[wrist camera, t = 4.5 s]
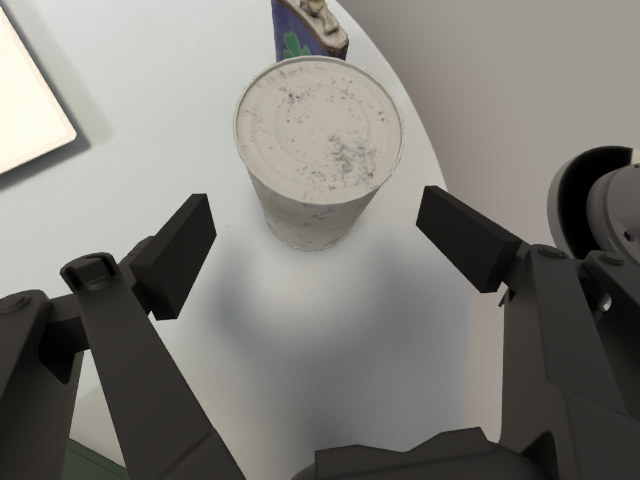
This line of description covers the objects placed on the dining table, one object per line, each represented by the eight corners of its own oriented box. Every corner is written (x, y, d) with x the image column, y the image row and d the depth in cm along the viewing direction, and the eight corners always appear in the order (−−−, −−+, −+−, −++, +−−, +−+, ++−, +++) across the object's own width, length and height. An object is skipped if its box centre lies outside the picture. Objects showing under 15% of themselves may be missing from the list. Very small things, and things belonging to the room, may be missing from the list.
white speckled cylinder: (262, 250, 24) (225, 203, 12) (265, 163, 26) (238, 49, 14) (358, 251, 25) (413, 206, 13) (353, 165, 27) (397, 60, 15)
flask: (272, 75, 29) (259, -50, 18) (292, 64, 30) (290, -64, 19) (323, 130, 28) (338, 29, 17) (342, 117, 28) (368, 12, 18)
